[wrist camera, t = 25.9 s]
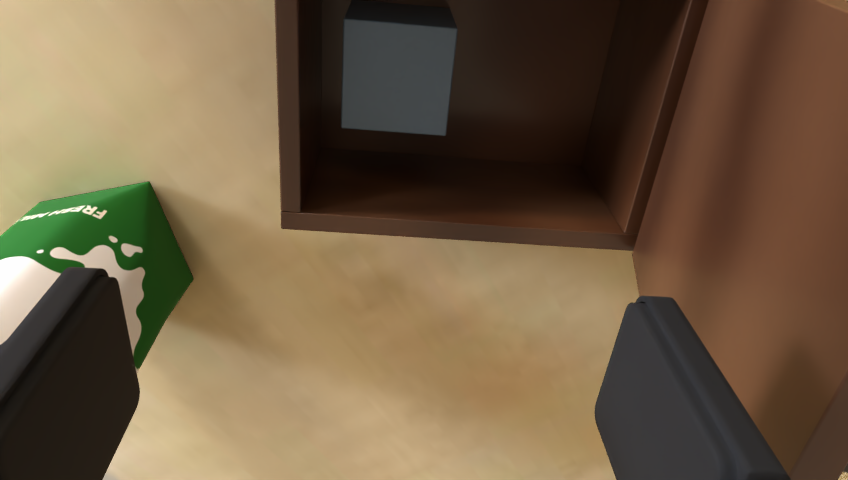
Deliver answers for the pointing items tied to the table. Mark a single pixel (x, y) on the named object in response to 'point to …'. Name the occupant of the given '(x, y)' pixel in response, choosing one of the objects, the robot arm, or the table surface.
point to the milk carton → (96, 257)
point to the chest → (492, 124)
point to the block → (397, 67)
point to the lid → (763, 219)
